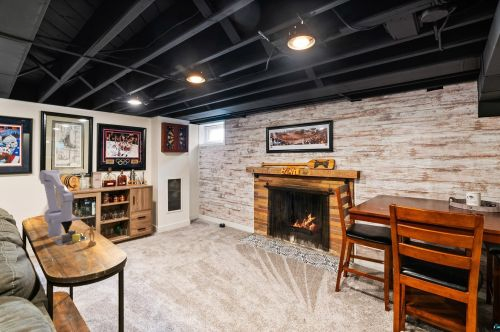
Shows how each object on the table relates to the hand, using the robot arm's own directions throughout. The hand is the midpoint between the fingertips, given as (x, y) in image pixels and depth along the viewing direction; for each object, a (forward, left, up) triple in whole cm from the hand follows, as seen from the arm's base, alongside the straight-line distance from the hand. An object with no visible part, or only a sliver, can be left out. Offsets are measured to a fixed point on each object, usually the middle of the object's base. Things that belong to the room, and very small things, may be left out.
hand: (66, 233), depth 153 cm
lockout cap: (+12, +2, -3) cm, 12 cm away
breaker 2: (0, +3, -3) cm, 4 cm away
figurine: (+25, +7, -4) cm, 26 cm away
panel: (+5, +1, -4) cm, 7 cm away
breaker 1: (+8, -2, -3) cm, 8 cm away
